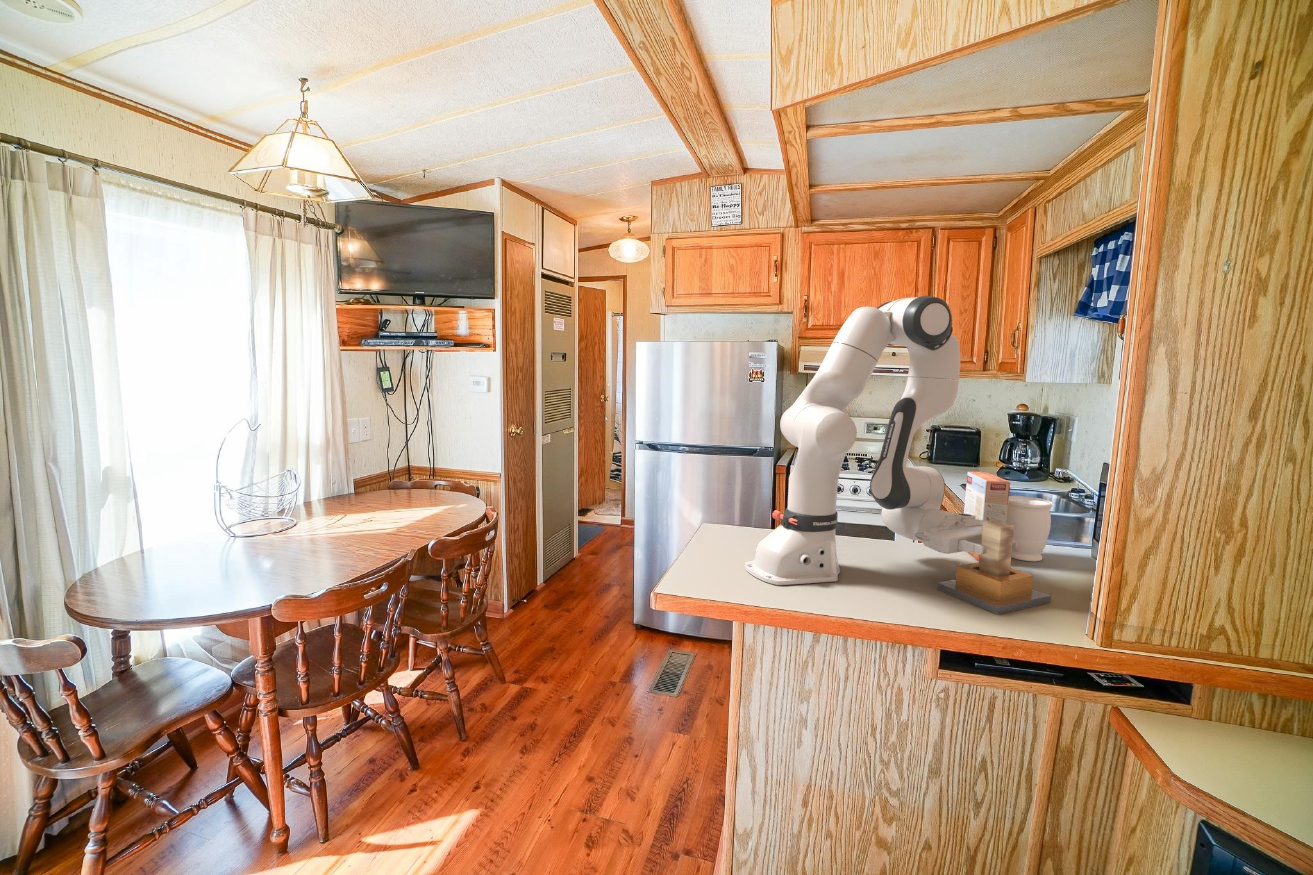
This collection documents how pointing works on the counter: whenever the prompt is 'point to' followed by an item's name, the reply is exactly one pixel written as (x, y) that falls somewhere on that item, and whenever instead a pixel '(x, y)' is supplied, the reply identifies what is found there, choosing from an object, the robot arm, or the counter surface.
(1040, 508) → the jar
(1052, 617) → the counter surface
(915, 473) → the robot arm
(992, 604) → the socket base
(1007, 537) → the wedge pin
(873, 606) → the counter surface
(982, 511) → the cracker box
